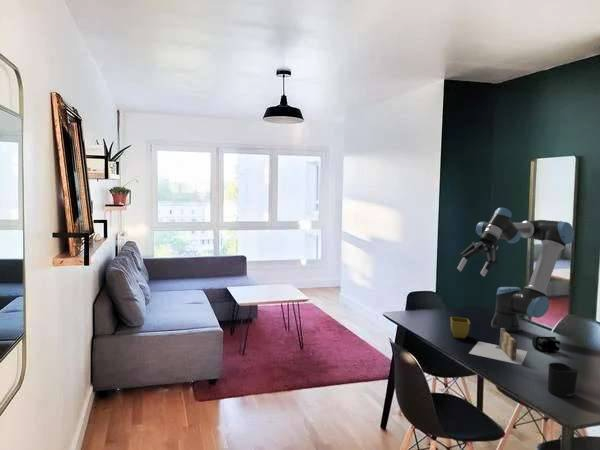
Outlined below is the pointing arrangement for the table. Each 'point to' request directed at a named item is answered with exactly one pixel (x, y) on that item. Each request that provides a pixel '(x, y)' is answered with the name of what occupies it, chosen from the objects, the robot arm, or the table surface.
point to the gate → (508, 344)
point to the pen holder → (562, 380)
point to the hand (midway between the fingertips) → (470, 272)
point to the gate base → (497, 353)
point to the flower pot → (459, 327)
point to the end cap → (546, 344)
